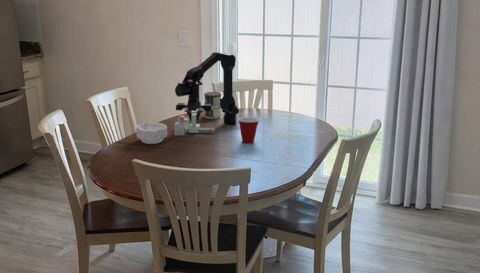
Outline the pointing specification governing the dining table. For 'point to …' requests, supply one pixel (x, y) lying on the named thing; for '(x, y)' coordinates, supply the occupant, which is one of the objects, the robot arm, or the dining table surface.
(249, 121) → the plastic cup
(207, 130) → the rail
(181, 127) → the grey blocky piece
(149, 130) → the paper bowls
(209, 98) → the coffee can
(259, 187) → the dining table surface
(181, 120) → the orange knob lever
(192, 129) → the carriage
